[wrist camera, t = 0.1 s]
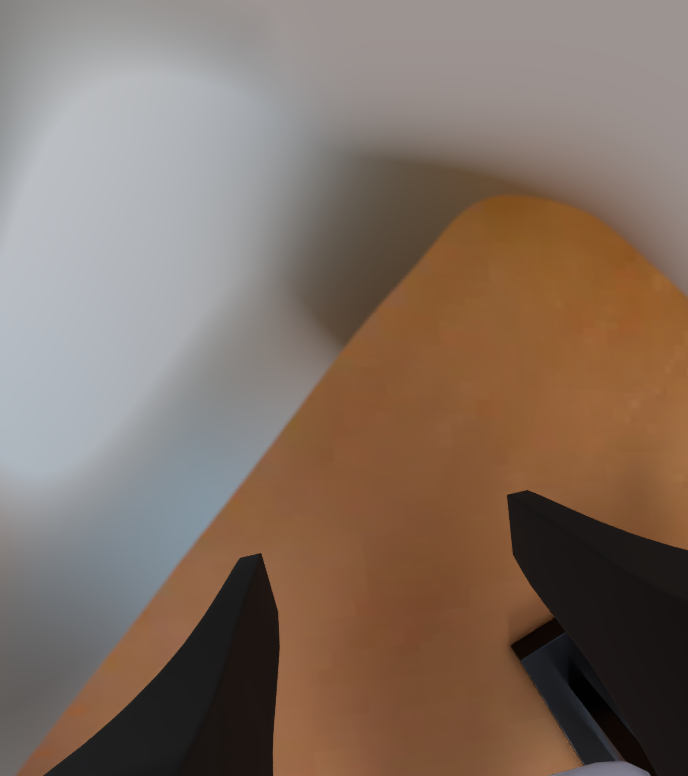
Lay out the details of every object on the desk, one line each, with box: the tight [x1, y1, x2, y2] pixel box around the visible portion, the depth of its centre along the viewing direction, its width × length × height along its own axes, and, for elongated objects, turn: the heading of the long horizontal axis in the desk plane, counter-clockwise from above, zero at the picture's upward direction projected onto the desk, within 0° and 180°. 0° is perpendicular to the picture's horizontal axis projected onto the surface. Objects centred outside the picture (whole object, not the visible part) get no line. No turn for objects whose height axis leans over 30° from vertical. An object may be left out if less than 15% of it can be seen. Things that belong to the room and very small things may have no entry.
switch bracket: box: [511, 618, 658, 776], centre depth 23 cm, size 10×8×7 cm
